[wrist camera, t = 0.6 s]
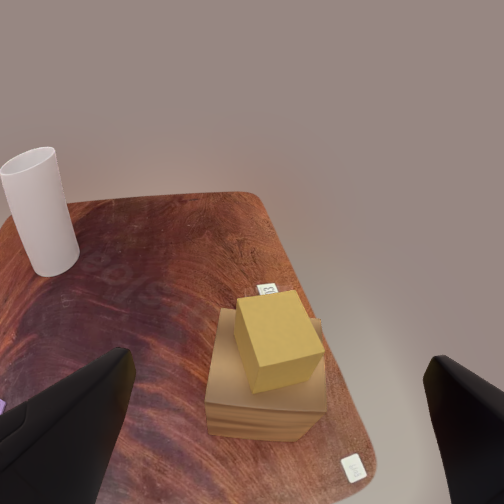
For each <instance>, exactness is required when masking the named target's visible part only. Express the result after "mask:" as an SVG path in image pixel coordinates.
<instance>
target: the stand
mask: <svg viewBox="0 0 504 504" xmlns="http://www.w3.org/2000/svg"><path fill="white" fill-rule="evenodd" d="M235 317H236V310H233V309H226V308H221V311H220V316H219V321H218V327H217V332H216V337H215V343H214V348H213V354H212V359H211V365H210V371H209V376H208V382H207V388H206V393H205V399H204V404H205V412H206V420H207V428H208V434H210V435H217V436H224V437H232V438H241V439H252V440H265V441H283V442H297V441H298V440H299V439H300V438H301V437H302V436H303V435H304V434H305V433H306V432H307V431H308V430H309V429H310V428H311V427H312V426H313V425H314V424H315V423H316V422H317V421H318V420H319V419H320V418H321V417H322V416H323V415H324V414H325V413H326V412H327V396H326V379H325V364H324V355H323V356H322V358H321V360H320V362H319V363H318V365H317V367H316V368H315V370H314V372H313V374H312V375H311V377H310V378H309V380H308V381H305V382H301V383H297V384H294V385H290V386H286V387H282V388H278V389H273V390H269V391H265V392H260V393H256V394H252V392H251V389H250V386H249V382H248V379H247V376H246V373H245V370H244V366H243V363H242V360H241V356H240V353H239V350H238V346H237V343H236V340H235V336H234V327H235ZM309 319H310V321H311V323H312V325H313V327H314V329H315V331H316V333H317V335H318V337H319V339H320V341H321V343H322V345H323V338H322V327H321V319H316V318H309Z"/></svg>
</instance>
